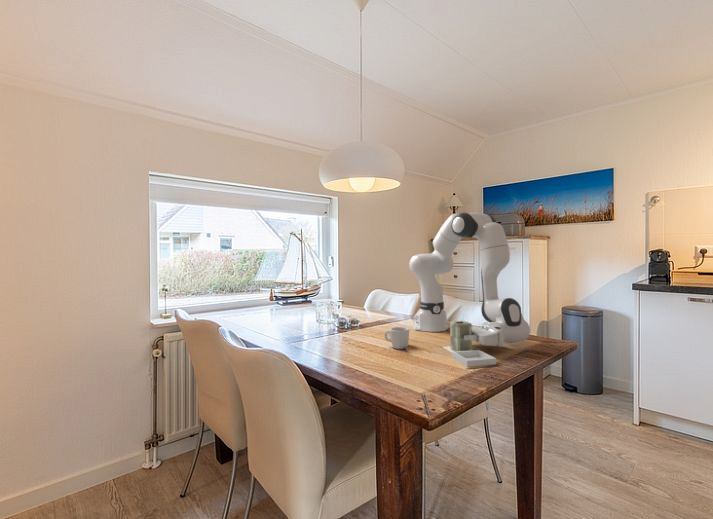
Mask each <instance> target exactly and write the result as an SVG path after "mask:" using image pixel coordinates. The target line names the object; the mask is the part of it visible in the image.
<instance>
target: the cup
mask: <svg viewBox="0 0 713 519" xmlns="http://www.w3.org/2000/svg"><path fill="white" fill-rule="evenodd" d="M388 334H389V335H390V338H388ZM409 338H410V328H409V327H405V326H404V327H403V326H394V327H391V328H390V329H389V330H386V331H385V332H384V339H385V340H386V341H387V342H390V343H391V346H392V348H394V349H397V350H404V349H406V348H407V347H408V346H409V340H410V339H409Z"/></svg>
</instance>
